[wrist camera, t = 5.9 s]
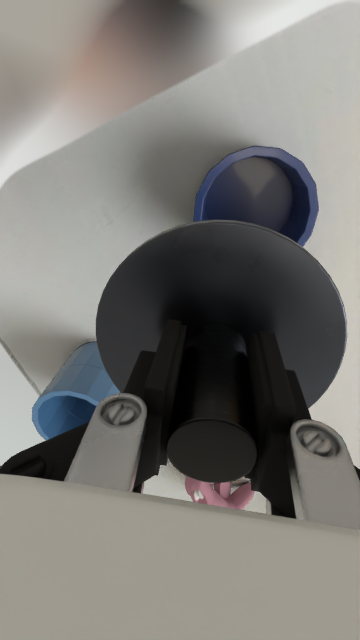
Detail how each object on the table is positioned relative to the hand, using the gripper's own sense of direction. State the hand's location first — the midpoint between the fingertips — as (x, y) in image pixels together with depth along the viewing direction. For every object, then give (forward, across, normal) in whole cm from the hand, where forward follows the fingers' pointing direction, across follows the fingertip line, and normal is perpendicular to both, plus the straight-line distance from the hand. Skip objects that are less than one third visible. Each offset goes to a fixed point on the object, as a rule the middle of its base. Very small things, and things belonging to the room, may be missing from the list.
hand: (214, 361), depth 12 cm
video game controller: (+21, -5, +33) cm, 40 cm away
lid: (+1, 0, 0) cm, 1 cm away
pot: (+21, +12, +18) cm, 30 cm away
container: (+21, -2, -3) cm, 21 cm away
